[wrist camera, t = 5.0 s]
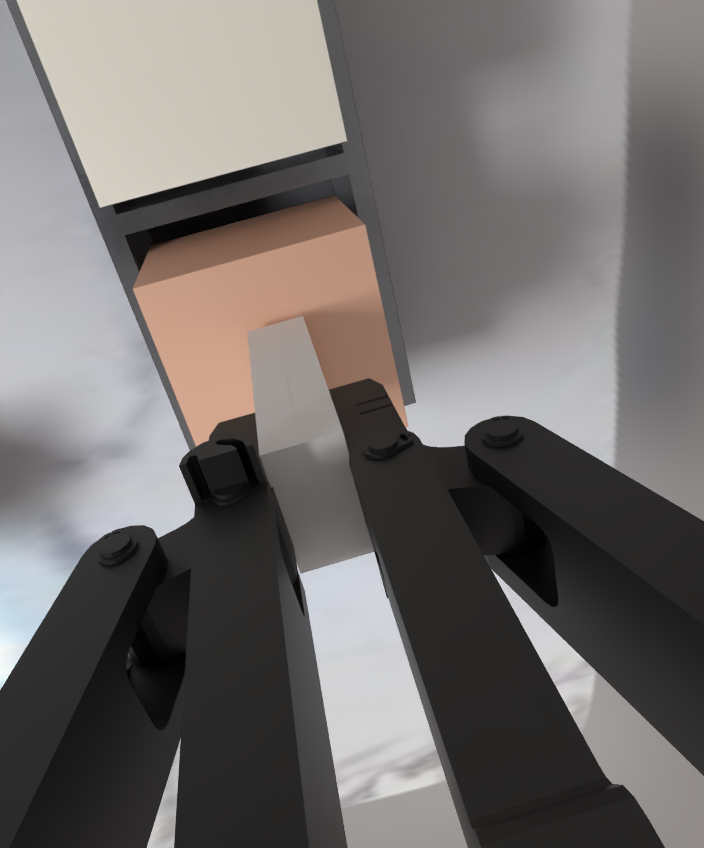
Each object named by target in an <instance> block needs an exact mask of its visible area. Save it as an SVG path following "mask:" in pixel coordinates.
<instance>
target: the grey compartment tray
mask: <svg viewBox="0 0 704 848" xmlns="http://www.w3.org/2000/svg"><path fill="white" fill-rule="evenodd" d="M6 2H7V4H8V7H9V9H10V12H11V14H12V17H13V19H14V22H15V24H16V26H17V29H18V31H19V34H20V36H21V39H22V41H23V44H24V46H25V48H26V51H27V53H28V56H29V58H30V61H31V63H32V66H33V68H34V70H35V73H36V75H37V78H38V80H39V83H40V85H41V88H42V90H43V92H44V95H45V97H46V100H47V102H48V105H49V107H50V110H51V112H52V114H53V117H54V119H55V122H56V124H57V127H58V129H59V132H60V134H61V136H62V139H63V141H64V144H65V146H66V149H67V151H68V154H69V156H70V158H71V161H72V163H73V166H74V168H75V171H76V173H77V175H78V178H79V180H80V183H81V185H82V188H83V190H84V193H85V195H86V197H87V200H88V202H89V205H90V207H91V210H92V212H93V215H94V217H95V219H96V222H97V224H98V227H99V229H100V232H101V234H102V237H103V239H104V241H105V244H106V246H107V249H108V251H109V254H110V256H111V259H112V261H113V263H114V266H115V268H116V271H117V273H118V276H119V278H120V281H121V283H122V285H123V288H124V290H125V293H126V295H127V298H128V300H129V303H130V305H131V307H132V310H133V312H134V315H135V317H136V320H137V322H138V325H139V327H140V329H141V332H142V334H143V337H144V339H145V342H146V344H147V347H148V349H149V351H150V354H151V356H152V359H153V361H154V364H155V366H156V369H157V371H158V373H159V376H160V378H161V381H162V383H163V386H164V388H165V391H166V393H167V395H168V398H169V400H170V403H171V405H172V408H173V410H174V413H175V415H176V417H177V420H178V422H179V425H180V427H181V430H182V432H183V435H184V437H185V439H186V442H187V444H188V447H189V449H190V450H192V449H193V448H195V447H196V445H195V443H194V440H193V438H192V435H191V433H190V430H189V428H188V425H187V423H186V420H185V418H184V415H183V413H182V410H181V408H180V405H179V403H178V400H177V398H176V395H175V393H174V390H173V388H172V385H171V383H170V380H169V378H168V375H167V373H166V371H165V368H164V366H163V363H162V361H161V358H160V356H159V353H158V351H157V348H156V346H155V343H154V341H153V338H152V336H151V333H150V331H149V328H148V326H147V323H146V321H145V318H144V316H143V313H142V311H141V308H140V306H139V303H138V301H137V298H136V296H135V293H134V291H133V287H134V284H135V282H136V280H137V277H138V275H139V272H140V270H141V268H142V265H143V263H144V260H145V258H146V256H147V253H148V251H149V248H150V246H151V245H153V242H152V240H151V237H150V234H149V231H148V229H150V228H153V227H157V226H161V225H164V224H168V223H172V222H175V221H179V220H183V219H186V218H190V217H194V216H197V215H201V214H205V213H208V212H212V211H216V210H219V209H223V208H227V207H230V206H234V205H238V204H241V203H245V202H249V201H253V200H256V199H260V198H264V197H267V196H271V195H275V194H278V193H282V192H286V191H289V190H293V189H297V188H300V187H304V186H308V185H311V184H315V183H319V182H322V181H326V180H330V179H332V183H333V187H334V192H335V196H336V197H337V198H338V199H339V200H340V201H341V202H342V203H343V204H344V205H345V206H346V207H347V208H348V209H349V210H350V211H351V212H352V213H354V214H355V215H356V216H357V217H358V218H359V219H360V220H361V221H362V222H363V223H364V224H365V226H366V231H367V236H368V240H369V245H370V250H371V254H372V259H373V264H374V268H375V273H376V278H377V282H378V287H379V292H380V296H381V301H382V306H383V310H384V315H385V320H386V324H387V329H388V333H389V338H390V343H391V347H392V352H393V357H394V361H395V366H396V371H397V375H398V380H399V385H400V389H401V394H402V399H403V403H404V406H406V405H409V404H412V403H416V400H415V395H414V391H413V386H412V381H411V376H410V371H409V366H408V361H407V356H406V351H405V347H404V342H403V337H402V332H401V327H400V322H399V317H398V312H397V307H396V302H395V298H394V293H393V288H392V283H391V278H390V273H389V268H388V263H387V258H386V253H385V249H384V244H383V239H382V234H381V229H380V224H379V219H378V214H377V209H376V205H375V200H374V195H373V190H372V185H371V180H370V175H369V170H368V165H367V160H366V156H365V151H364V146H363V141H362V136H361V131H360V126H359V121H358V116H357V112H356V107H355V102H354V97H353V92H352V87H351V82H350V77H349V72H348V67H347V63H346V58H345V53H344V48H343V43H342V38H341V33H340V28H339V23H338V18H337V14H336V9H335V4H334V0H317V3H318V8H319V12H320V17H321V22H322V26H323V31H324V36H325V40H326V45H327V49H328V54H329V59H330V63H331V68H332V73H333V77H334V82H335V87H336V91H337V96H338V101H339V105H340V110H341V115H342V119H343V124H344V129H345V133H346V138H347V141H345V142H342V143H338V144H334V145H330V146H327V147H323V148H319V149H316V150H312V151H308V152H304V153H301V154H297V155H293V156H290V157H286V158H282V159H278V160H275V161H271V162H267V163H264V164H260V165H256V166H252V167H249V168H245V169H241V170H238V171H234V172H230V173H227V174H223V175H219V176H215V177H212V178H208V179H204V180H201V181H197V182H193V183H189V184H186V185H182V186H178V187H175V188H171V189H167V190H163V191H160V192H156V193H152V194H149V195H145V196H141V197H137V198H134V199H130V200H126V201H123V202H119V203H115V204H111V205H108V206H104V207H99V204H98V202H97V199H96V197H95V194H94V192H93V189H92V187H91V184H90V182H89V179H88V177H87V174H86V172H85V169H84V167H83V164H82V162H81V159H80V157H79V154H78V152H77V149H76V147H75V144H74V142H73V139H72V137H71V134H70V132H69V130H68V127H67V125H66V122H65V120H64V117H63V115H62V112H61V110H60V107H59V105H58V102H57V100H56V97H55V95H54V92H53V90H52V87H51V85H50V82H49V80H48V77H47V75H46V72H45V70H44V67H43V65H42V62H41V60H40V57H39V55H38V53H37V50H36V48H35V45H34V43H33V40H32V38H31V35H30V33H29V30H28V28H27V25H26V23H25V20H24V18H23V15H22V13H21V10H20V8H19V5H18V3H17V0H6Z"/></svg>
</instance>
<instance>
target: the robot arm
mask: <svg viewBox="0 0 704 848" xmlns="http://www.w3.org/2000/svg"><path fill="white" fill-rule="evenodd" d="M247 335H248V345H249V356H250V366H251V376H252V386H253V396H254V406H255V413H251V414H248V415H244V416H241V417H237V418H234V419H230V420H227V421H223V422H220V423H218V424H217V426H216V427H215V429H214V430H213V431H212V433H211V434H210V436H209V441H206V442H203V443H202V444H200V445H198V446H197V447H195V448H193V449H192V450H190V451H189V452H188V453H187V454H186V455H185V456H184V457H183V458H182V461H181V463H180V465H179V467H180V470H181V472H182V474H183V477H184V479H185V481H186V484H187V486H188V488H189V491H190V493H191V496H192V498H193V500H194V503H195V514H194V518H192V519H191V520H190V521H189V522H187V523H186V524H184V525H183V526H181V527H179V528H178V529H176V530H174V531H172V532H170V533H168V534H166V535H164V536H162V537H160V538H157V536H156V534H155V532H154V530H153V529H152V528H149V527H147V526H144V525H142V526H129V527H125V528H121V529H117V530H114V531H112V532H111V533H108V534H106V535H104V536H103V537H102V538H101V539H99V540H98V541H97V542H95V543H94V544H92V545H91V546H90V547H89V549H88V550H87V551H86V552H85V553H84V555H83V556H82V557H81V559H80V561H79V562H78V564H77V566H76V567H75V569H74V570H73V572H72V574H71V575H70V577H69V579H68V580H67V582H66V584H65V585H64V587H63V588H62V590H61V592H60V593H59V595H58V597H57V598H56V600H55V602H54V603H53V605H52V607H51V608H50V610H49V611H48V613H47V615H46V616H45V618H44V620H43V621H42V623H41V625H40V626H39V628H38V629H37V631H36V633H35V634H34V636H33V638H32V639H31V641H30V643H29V644H28V646H27V647H26V649H25V651H24V652H23V654H22V656H21V657H20V659H19V661H18V662H17V664H16V666H15V667H14V669H13V670H12V672H11V674H10V675H9V677H8V679H7V680H6V682H5V684H4V685H3V687H2V688H1V690H0V848H147V844H148V841H149V838H150V835H151V831H152V828H153V825H154V822H155V819H156V815H157V812H158V809H159V806H160V803H161V799H162V796H163V793H164V790H165V786H166V783H167V780H168V777H169V774H170V770H171V767H172V764H173V761H174V757H175V754H176V751H177V748H178V745H179V741H180V738H181V745H180V761H179V777H178V794H177V810H176V827H175V843H174V848H347V842H346V836H345V830H344V825H343V818H342V813H341V806H340V800H339V794H338V788H337V782H336V776H335V770H334V764H333V758H332V752H331V746H330V740H329V734H328V728H327V722H326V716H325V710H324V704H323V698H322V692H321V686H320V680H319V674H318V668H317V662H316V656H315V650H314V644H313V638H312V632H311V626H310V620H309V614H308V608H307V602H306V596H305V590H304V587H303V585H302V582H301V579H300V576H299V573H298V570H297V564H298V567H299V570H300V573H304V572H307V571H311V570H314V569H317V568H321V567H324V566H327V565H331V564H334V563H337V562H341V561H344V560H347V559H351V558H354V557H357V556H361V555H364V554H368V553H371V552H375V555H376V559H377V563H378V566H379V570H380V574H381V577H382V581H383V585H384V588H385V592H386V596H387V598H389V601H390V604H391V608H392V611H393V614H394V617H395V620H396V623H397V626H398V629H399V633H400V636H401V639H402V642H403V645H404V648H405V651H406V655H407V658H408V661H409V664H410V667H411V670H412V673H413V677H414V680H415V683H416V686H417V689H418V692H419V695H420V699H421V702H422V705H423V708H424V711H425V714H426V717H427V720H428V724H429V727H430V730H431V733H432V736H433V739H434V742H435V746H436V749H437V752H438V755H439V758H440V761H441V764H442V768H443V771H444V774H445V777H446V780H447V783H448V786H449V789H450V793H451V796H452V799H453V802H454V805H455V808H456V811H457V815H458V818H459V821H460V824H461V827H462V830H463V833H464V836H465V839H466V843H467V846H468V848H665V847H664V846H663V844H662V842H661V840H660V838H659V837H658V835H657V833H656V831H655V830H654V828H653V826H652V824H651V823H650V821H649V819H648V818H647V816H646V815H645V813H644V811H643V810H642V809H641V807H640V805H639V804H638V802H637V801H636V799H635V798H634V796H633V795H632V794H631V793H630V792H629V791H628V790H627V789H626V788H625V787H624V786H623V785H617V784H612V783H611V782H610V781H609V780H608V779H607V778H606V776H605V775H604V773H603V771H602V770H601V768H600V766H599V765H598V763H597V761H596V759H595V757H594V756H593V754H592V752H591V750H590V748H589V746H588V745H587V743H586V741H585V739H584V737H583V735H582V734H581V732H580V730H579V728H578V726H577V725H576V723H575V721H574V719H573V717H572V715H571V714H570V712H569V710H568V708H567V706H566V705H565V703H564V701H563V699H562V697H561V695H560V694H559V692H558V690H557V688H556V686H555V685H554V683H553V681H552V679H551V677H550V675H549V674H548V672H547V670H546V668H545V666H544V664H543V663H542V661H541V659H540V657H539V655H538V654H537V652H536V650H535V648H534V646H533V644H532V643H531V641H530V639H529V637H528V635H527V634H526V632H525V630H524V628H523V626H522V624H521V623H520V621H519V619H518V617H517V615H516V614H515V612H514V610H513V608H512V606H511V604H510V603H509V601H508V599H507V597H506V595H505V593H504V592H503V590H502V588H501V586H500V584H499V583H498V581H497V579H496V577H495V575H494V573H493V572H492V570H493V571H494V572H495V573H496V574H497V575H498V576H499V577H500V578H501V579H502V580H503V581H504V582H505V583H506V584H507V585H509V586H510V587H511V588H512V589H513V590H514V591H515V592H516V593H517V594H518V595H519V596H520V597H521V598H522V599H523V600H524V601H525V602H526V603H527V604H528V605H529V606H530V607H531V608H532V609H533V610H534V611H535V612H536V613H537V614H538V615H539V616H540V617H541V618H542V619H543V620H544V621H545V622H546V623H548V624H549V625H550V626H551V627H552V628H553V629H554V630H555V631H556V632H557V633H558V634H559V635H560V636H561V637H562V638H563V639H564V640H565V641H566V642H567V643H568V644H569V645H570V646H571V647H572V648H573V649H574V650H575V651H576V652H577V653H578V654H579V655H580V656H581V657H582V658H583V659H584V660H585V661H586V662H588V663H589V664H590V665H591V666H592V667H593V668H594V669H595V670H596V671H597V672H598V673H599V674H600V675H601V676H602V677H603V678H604V679H605V680H606V681H607V682H608V683H609V684H610V685H611V686H612V687H613V688H614V689H615V690H616V691H617V692H618V693H619V694H620V695H622V697H624V699H626V700H627V701H628V702H629V703H630V704H631V705H632V706H633V707H634V708H635V709H636V710H637V711H638V712H639V713H640V714H641V715H642V716H643V717H644V718H645V719H646V720H647V721H648V722H649V723H650V724H651V725H652V726H653V727H654V728H655V729H656V730H657V731H658V732H659V733H660V734H661V735H662V736H664V737H665V738H666V739H667V740H668V741H669V742H670V743H671V744H672V745H673V746H674V747H675V748H676V749H677V750H678V751H679V752H680V753H681V754H682V755H683V756H684V757H685V758H686V759H687V760H688V761H689V762H690V763H691V764H692V765H693V766H694V767H695V768H696V769H697V770H698V771H699V772H700V773H702V775H703V776H704V521H702V520H701V519H699V518H697V517H695V516H694V515H692V514H690V513H689V512H687V511H685V510H684V509H682V508H680V507H679V506H677V505H675V504H674V503H672V502H670V501H668V500H667V499H665V498H663V497H662V496H660V495H658V494H656V493H655V492H653V491H651V490H650V489H648V488H646V487H645V486H643V485H641V484H640V483H638V482H636V481H635V480H633V479H631V478H629V477H628V476H626V475H624V474H623V473H621V472H619V471H618V470H616V469H614V468H612V467H611V466H609V465H607V464H606V463H604V462H602V461H601V460H599V459H597V458H596V457H594V456H592V455H590V454H589V453H587V452H585V451H584V450H582V449H580V448H579V447H577V446H575V445H573V444H572V443H570V442H568V441H567V440H565V439H563V438H562V437H560V436H558V435H557V434H555V433H553V432H551V431H550V430H548V429H546V428H545V427H543V426H541V425H540V424H538V423H536V422H534V421H532V420H529V419H527V418H524V417H516V416H501V417H500V416H498V417H493V418H491V419H488V420H485V421H481V422H480V423H478V424H476V425H475V426H473V427H472V428H470V430H469V431H468V432H467V434H466V435H465V446H457V447H441V448H438V447H429V446H426V445H423V444H422V442H421V441H420V439H419V438H418V437H417V436H416V435H415V434H414V433H413V432H410V431H407V429H406V427H405V426H404V424H403V422H402V420H401V418H400V416H399V414H398V412H397V411H396V409H395V407H394V406H393V403H392V401H391V399H390V397H389V396H388V394H387V392H386V390H385V388H384V386H383V385H382V384H380V383H378V382H376V381H374V380H372V379H370V378H368V379H364V380H361V381H357V382H354V383H350V384H347V385H343V386H340V387H336V388H333V389H329V390H328V387H327V384H326V381H325V378H324V375H323V372H322V370H321V367H320V364H319V361H318V358H317V355H316V352H315V349H314V347H313V344H312V341H311V338H310V335H309V332H308V329H307V326H306V323H305V321H304V318H303V316H301V317H297V318H293V319H290V320H286V321H283V322H279V323H276V324H272V325H268V326H265V327H261V328H258V329H254V330H251V331H247ZM296 562H297V563H296ZM491 569H492V570H491Z"/></svg>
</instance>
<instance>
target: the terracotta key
mask: <svg viewBox="0 0 704 848" xmlns="http://www.w3.org/2000/svg"><path fill="white" fill-rule="evenodd" d="M133 291H134V293H135V296H136V298H137V301H138V303H139V306H140V308H141V311H142V313H143V316H144V318H145V321H146V323H147V326H148V328H149V331H150V333H151V336H152V338H153V341H154V343H155V346H156V348H157V351H158V353H159V356H160V358H161V361H162V363H163V366H164V368H165V371H166V373H167V375H168V378H169V380H170V383H171V385H172V388H173V390H174V393H175V395H176V398H177V400H178V403H179V405H180V408H181V410H182V413H183V415H184V418H185V420H186V423H187V425H188V428H189V430H190V433H191V435H192V438H193V440H194V443H195V445H196V447H197V446H198V445H200V444H202V443H203V442H206V441H209V436H210V434H211V433H212V431H213V430H214V429H215V427H216V426H217V424H218V423H220V422H223V421H227V420H230V419H234V418H237V417H241V416H244V415H248V414H251V413H255V406H254V396H253V386H252V376H251V366H250V356H249V345H248V335H247V331H251V330H254V329H258V328H261V327H265V326H268V325H272V324H276V323H279V322H283V321H286V320H290V319H293V318H297V317H301V316H303V318H304V321H305V323H306V326H307V329H308V332H309V335H310V338H311V341H312V344H313V347H314V349H315V352H316V355H317V358H318V361H319V364H320V367H321V370H322V372H323V375H324V378H325V381H326V384H327V387H328V390H329V389H333V388H336V387H340V386H343V385H347V384H350V383H354V382H357V381H361V380H364V379H368V378H370V379H372V380H374V381H376V382H378V383H380V384H382V385H383V386H384V388H385V390H386V392H387V394H388V396H389V397H390V399H391V401H392V403H393V406H394V407H395V409H396V411H397V412H398V414H399V416H400V418H401V420H402V422H403V424H404V426H405V427H408V422H407V417H406V413H405V408H404V403H403V399H402V394H401V389H400V385H399V380H398V375H397V371H396V366H395V361H394V357H393V352H392V347H391V343H390V338H389V333H388V329H387V324H386V320H385V315H384V310H383V306H382V301H381V296H380V292H379V287H378V282H377V278H376V273H375V268H374V264H373V259H372V254H371V250H370V245H369V240H368V236H367V231H366V226H365V224H364V223H363V222H362V221H361V220H360V219H359V218H358V217H357V216H356V215H355V214H354V213H352V212H351V211H350V210H349V209H348V208H347V207H346V206H345V205H344V204H343V203H342V202H341V201H340V200H339V199H338V198H337V197H336V196H335V195H334V196H330V197H327V198H323V199H320V200H316V201H312V202H309V203H305V204H301V205H298V206H294V207H290V208H287V209H283V210H279V211H276V212H272V213H268V214H265V215H261V216H257V217H254V218H250V219H246V220H243V221H239V222H235V223H232V224H228V225H224V226H221V227H217V228H213V229H210V230H206V231H202V232H199V233H195V234H191V235H188V236H184V237H181V238H177V239H173V240H170V241H166V242H162V243H159V244H155V245H151V246H150V248H149V251H148V253H147V256H146V258H145V260H144V263H143V265H142V268H141V270H140V272H139V275H138V277H137V280H136V282H135V284H134V287H133Z"/></svg>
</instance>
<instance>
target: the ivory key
mask: <svg viewBox="0 0 704 848" xmlns="http://www.w3.org/2000/svg"><path fill="white" fill-rule="evenodd" d="M17 3H18V5H19V8H20V10H21V13H22V15H23V18H24V20H25V23H26V25H27V28H28V30H29V33H30V35H31V38H32V40H33V43H34V45H35V48H36V50H37V53H38V55H39V57H40V60H41V62H42V65H43V67H44V70H45V72H46V75H47V77H48V80H49V82H50V85H51V87H52V90H53V92H54V95H55V97H56V100H57V102H58V105H59V107H60V110H61V112H62V115H63V117H64V120H65V122H66V125H67V127H68V130H69V132H70V134H71V137H72V139H73V142H74V144H75V147H76V149H77V152H78V154H79V157H80V159H81V162H82V164H83V167H84V169H85V172H86V174H87V177H88V179H89V182H90V184H91V187H92V189H93V192H94V194H95V197H96V199H97V202H98V204H99V207H104V206H108V205H111V204H115V203H119V202H123V201H126V200H130V199H134V198H137V197H141V196H145V195H149V194H152V193H156V192H160V191H163V190H167V189H171V188H175V187H178V186H182V185H186V184H189V183H193V182H197V181H201V180H204V179H208V178H212V177H215V176H219V175H223V174H227V173H230V172H234V171H238V170H241V169H245V168H249V167H252V166H256V165H260V164H264V163H267V162H271V161H275V160H278V159H282V158H286V157H290V156H293V155H297V154H301V153H304V152H308V151H312V150H316V149H319V148H323V147H327V146H330V145H334V144H338V143H342V142H345V141H347V138H346V133H345V129H344V124H343V119H342V115H341V110H340V105H339V101H338V96H337V91H336V87H335V82H334V77H333V73H332V68H331V63H330V59H329V54H328V49H327V45H326V40H325V36H324V31H323V26H322V22H321V17H320V12H319V8H318V3H317V0H17Z"/></svg>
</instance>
